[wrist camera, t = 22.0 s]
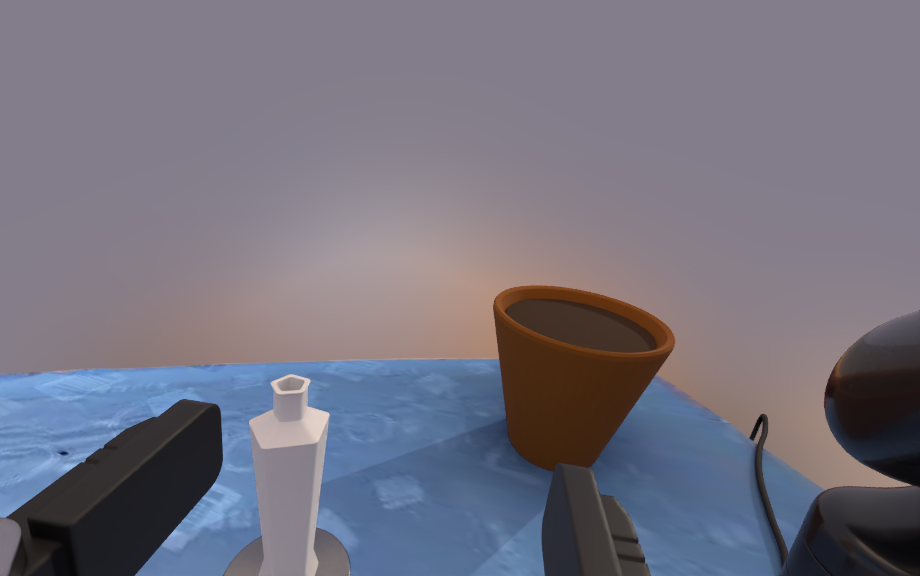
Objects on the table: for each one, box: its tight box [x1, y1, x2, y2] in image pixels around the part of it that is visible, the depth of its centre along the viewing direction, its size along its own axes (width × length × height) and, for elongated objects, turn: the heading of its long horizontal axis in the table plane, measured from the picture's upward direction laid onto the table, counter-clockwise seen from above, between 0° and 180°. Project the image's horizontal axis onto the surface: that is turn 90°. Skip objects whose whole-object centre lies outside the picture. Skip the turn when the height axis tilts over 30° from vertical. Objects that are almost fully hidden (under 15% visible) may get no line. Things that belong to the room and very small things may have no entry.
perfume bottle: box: [249, 375, 329, 576], centre depth 27 cm, size 5×4×15 cm
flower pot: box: [493, 286, 675, 471], centre depth 62 cm, size 24×24×20 cm
